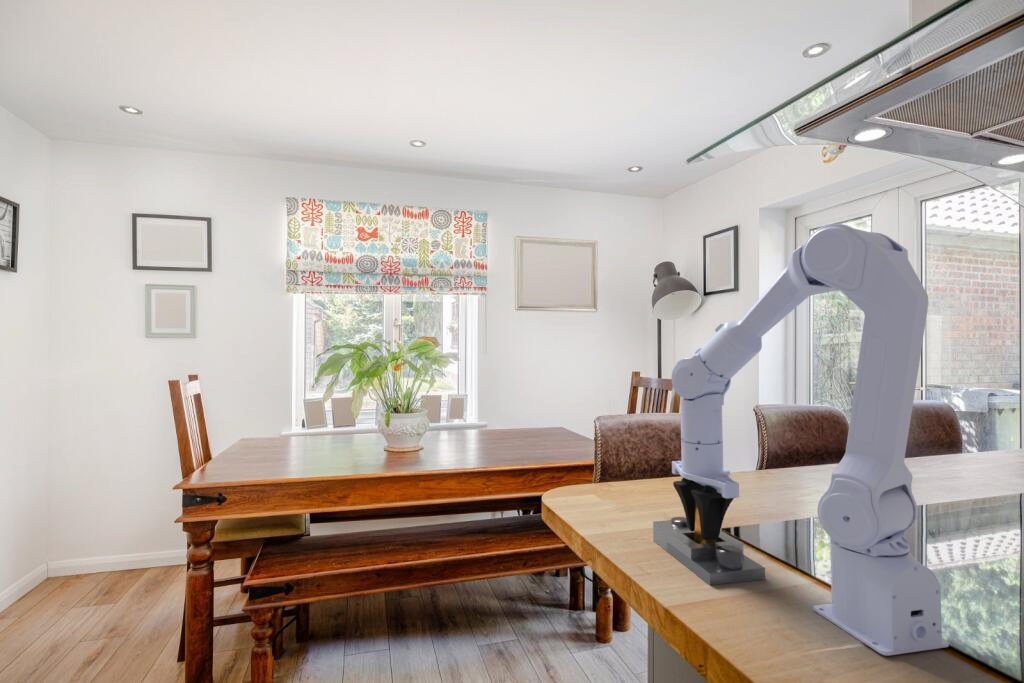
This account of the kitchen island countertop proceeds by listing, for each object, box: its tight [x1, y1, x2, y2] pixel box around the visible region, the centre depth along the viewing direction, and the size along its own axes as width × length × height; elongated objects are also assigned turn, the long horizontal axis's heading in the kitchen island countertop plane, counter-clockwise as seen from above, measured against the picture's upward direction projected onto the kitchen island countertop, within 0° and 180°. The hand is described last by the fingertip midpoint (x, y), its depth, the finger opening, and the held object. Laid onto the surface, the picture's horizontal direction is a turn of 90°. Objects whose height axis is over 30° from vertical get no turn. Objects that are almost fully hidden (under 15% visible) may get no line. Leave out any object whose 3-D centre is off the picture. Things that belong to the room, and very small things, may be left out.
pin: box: [694, 502, 716, 544], centre depth 75 cm, size 3×3×7 cm
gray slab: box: [652, 516, 766, 586], centre depth 75 cm, size 16×8×4 cm, turn 11°
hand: (703, 534), depth 75 cm, fingers open, 3 cm apart
